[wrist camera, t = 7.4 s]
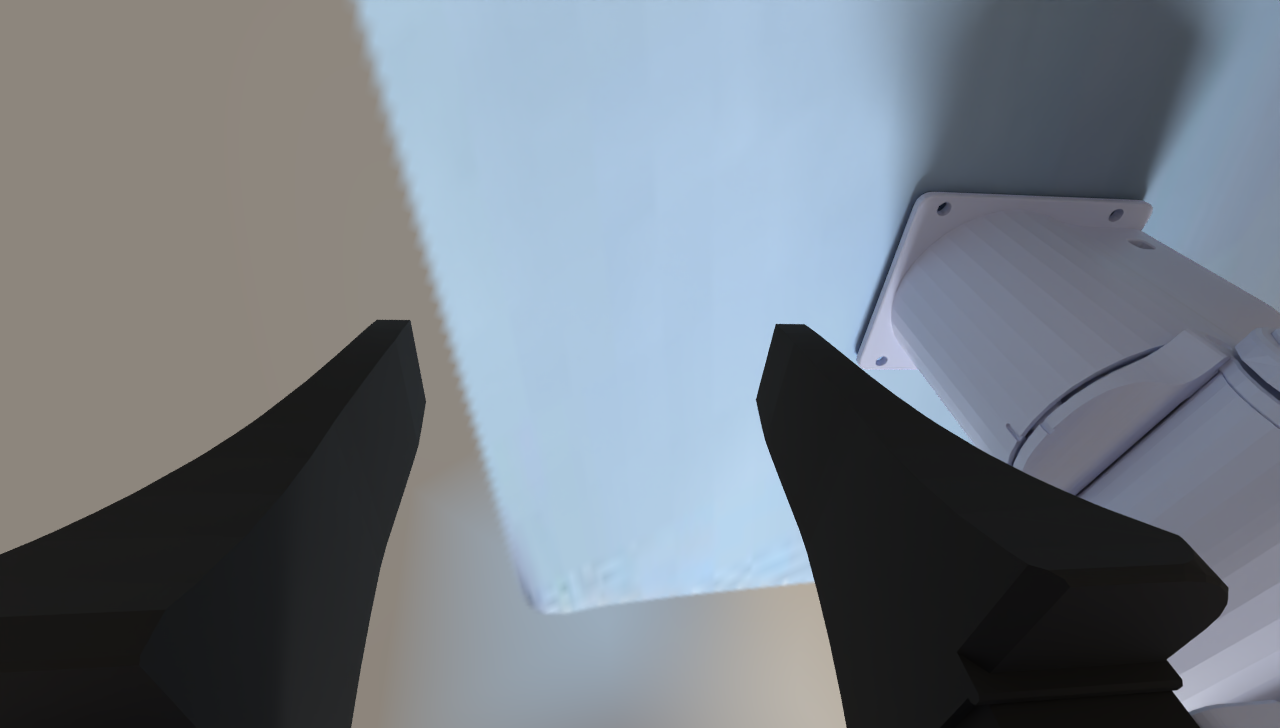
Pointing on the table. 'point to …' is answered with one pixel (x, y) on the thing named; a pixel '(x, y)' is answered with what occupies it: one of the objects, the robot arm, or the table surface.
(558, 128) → the table surface
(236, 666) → the robot arm
